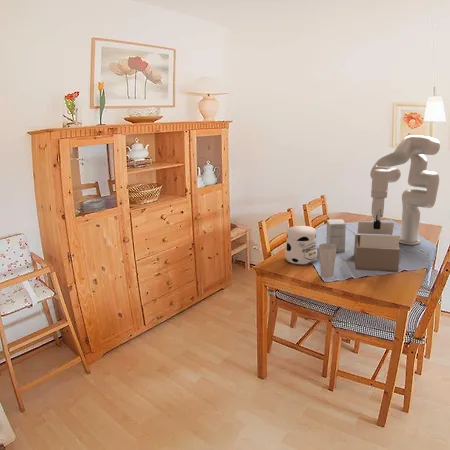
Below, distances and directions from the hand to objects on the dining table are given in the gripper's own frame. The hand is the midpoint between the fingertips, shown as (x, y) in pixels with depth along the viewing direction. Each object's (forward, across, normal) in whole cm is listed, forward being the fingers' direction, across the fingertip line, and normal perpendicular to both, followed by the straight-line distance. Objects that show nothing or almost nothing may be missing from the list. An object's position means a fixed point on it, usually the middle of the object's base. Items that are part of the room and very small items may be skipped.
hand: (376, 228), depth 201 cm
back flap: (+2, -6, 0) cm, 6 cm away
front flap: (+2, +14, 0) cm, 14 cm away
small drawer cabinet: (+19, -16, -20) cm, 32 cm away
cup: (+18, +21, -24) cm, 37 cm away
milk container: (+19, +5, -38) cm, 43 cm away
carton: (+18, +2, 0) cm, 19 cm away
